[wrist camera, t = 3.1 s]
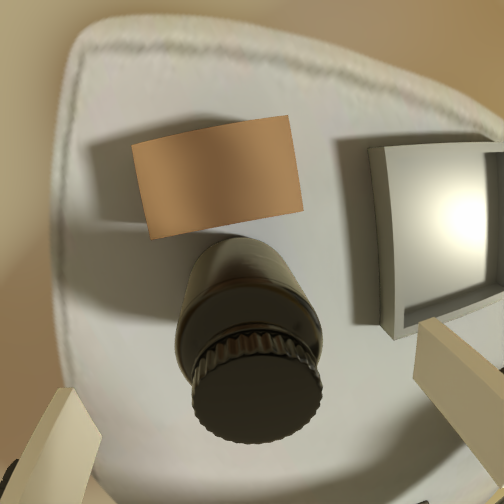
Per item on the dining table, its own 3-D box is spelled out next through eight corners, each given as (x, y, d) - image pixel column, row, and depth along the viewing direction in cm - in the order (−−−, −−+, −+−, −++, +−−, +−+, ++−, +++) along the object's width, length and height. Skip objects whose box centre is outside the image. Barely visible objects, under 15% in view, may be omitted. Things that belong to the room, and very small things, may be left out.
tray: (495, 141, 21) (514, 142, 19) (495, 286, 25) (512, 295, 22) (367, 148, 20) (384, 146, 18) (380, 325, 24) (393, 340, 22)
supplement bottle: (169, 271, 21) (121, 378, 10) (255, 215, 21) (296, 275, 9) (226, 345, 23) (233, 477, 12) (306, 297, 23) (375, 408, 11)
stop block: (274, 125, 20) (288, 115, 15) (286, 201, 21) (303, 211, 17) (150, 149, 19) (131, 145, 15) (165, 224, 21) (150, 240, 16)
